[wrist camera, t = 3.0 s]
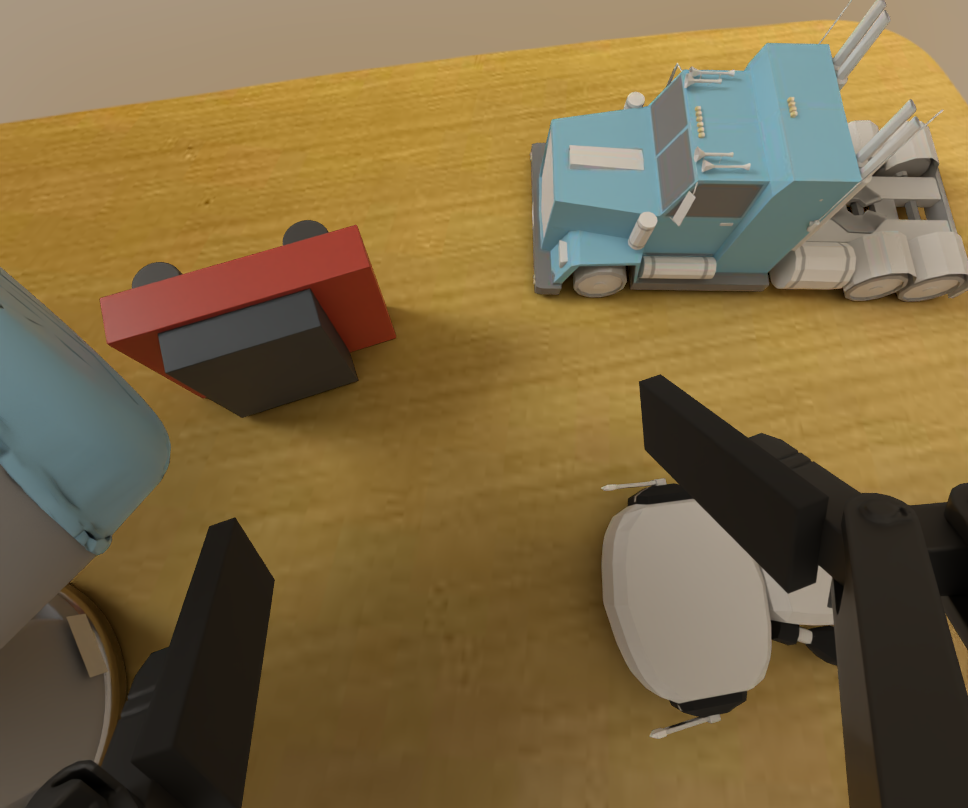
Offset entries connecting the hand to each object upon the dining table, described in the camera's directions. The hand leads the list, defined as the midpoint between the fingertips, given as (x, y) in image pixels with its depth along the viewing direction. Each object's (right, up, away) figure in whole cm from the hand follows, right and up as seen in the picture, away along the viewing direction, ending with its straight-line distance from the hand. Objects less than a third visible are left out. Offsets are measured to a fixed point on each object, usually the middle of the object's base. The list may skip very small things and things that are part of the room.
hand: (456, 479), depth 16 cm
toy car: (-11, +6, +18) cm, 22 cm away
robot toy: (+15, -8, +14) cm, 22 cm away
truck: (+19, +15, +21) cm, 32 cm away
